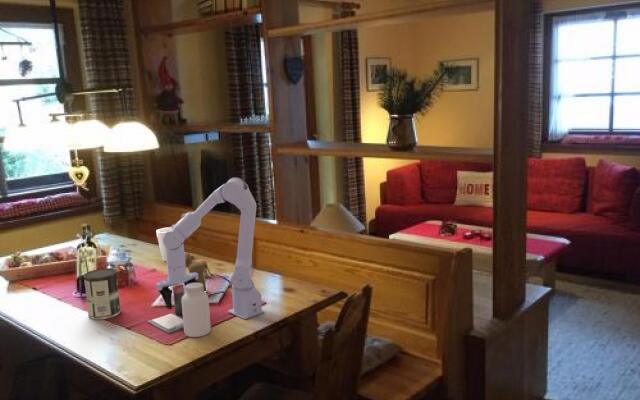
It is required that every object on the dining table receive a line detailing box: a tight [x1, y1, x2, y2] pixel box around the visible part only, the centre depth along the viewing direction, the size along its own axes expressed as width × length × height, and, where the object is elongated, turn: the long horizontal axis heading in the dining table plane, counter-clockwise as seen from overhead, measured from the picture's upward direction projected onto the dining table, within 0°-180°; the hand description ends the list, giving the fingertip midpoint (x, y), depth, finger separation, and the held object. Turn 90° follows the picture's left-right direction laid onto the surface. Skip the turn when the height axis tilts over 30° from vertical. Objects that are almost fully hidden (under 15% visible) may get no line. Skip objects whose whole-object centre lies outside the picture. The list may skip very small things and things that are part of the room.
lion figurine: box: [185, 252, 215, 278], centre depth 226 cm, size 15×5×9 cm, turn 72°
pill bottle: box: [182, 283, 212, 338], centre depth 173 cm, size 8×8×15 cm
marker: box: [172, 283, 185, 316], centre depth 188 cm, size 3×3×10 cm
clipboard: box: [146, 312, 184, 335], centre depth 181 cm, size 13×9×1 cm
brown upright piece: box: [188, 263, 207, 292], centre depth 206 cm, size 6×6×11 cm
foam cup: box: [155, 226, 172, 262], centre depth 248 cm, size 10×9×13 cm
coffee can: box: [83, 267, 122, 321], centre depth 189 cm, size 10×10×14 cm
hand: (179, 305), depth 188 cm, fingers open, 7 cm apart
